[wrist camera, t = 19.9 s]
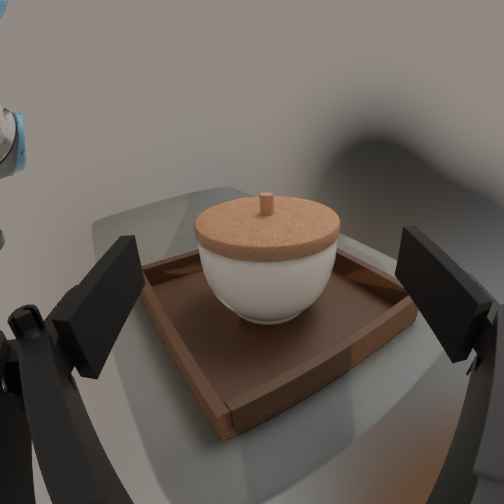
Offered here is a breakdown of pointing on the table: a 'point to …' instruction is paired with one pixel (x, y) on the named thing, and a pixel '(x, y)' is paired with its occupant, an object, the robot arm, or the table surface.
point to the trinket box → (267, 254)
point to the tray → (269, 337)
